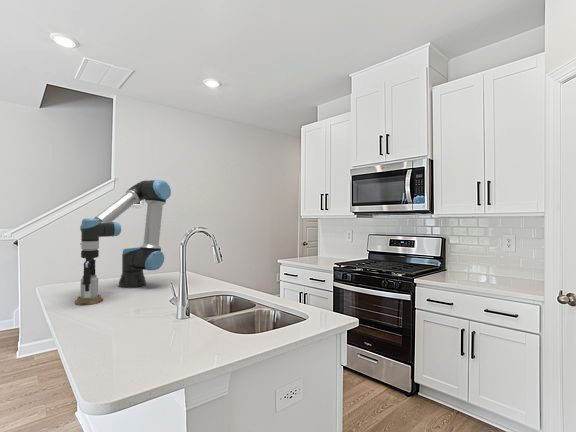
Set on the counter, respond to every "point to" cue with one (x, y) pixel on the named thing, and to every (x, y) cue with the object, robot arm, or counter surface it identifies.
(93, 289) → the can
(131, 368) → the counter surface
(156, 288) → the counter surface
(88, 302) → the seat
